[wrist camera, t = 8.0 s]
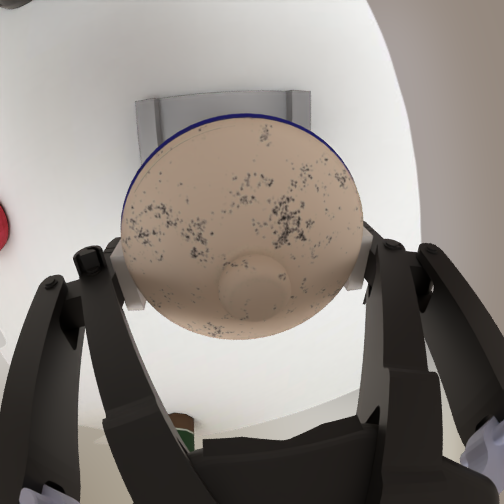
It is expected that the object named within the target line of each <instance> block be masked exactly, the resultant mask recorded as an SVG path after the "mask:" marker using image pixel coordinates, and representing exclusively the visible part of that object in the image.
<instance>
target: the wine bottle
mask: <svg viewBox="0 0 504 504" xmlns="http://www.w3.org/2000/svg"><path fill="white" fill-rule="evenodd" d="M7 238H8V222H7V218H6V215H5V213H4V211H3V209H2V207H1V206H0V250H1V249H2V248H3V247H4V245H5V244H6V241H7Z"/></svg>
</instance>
